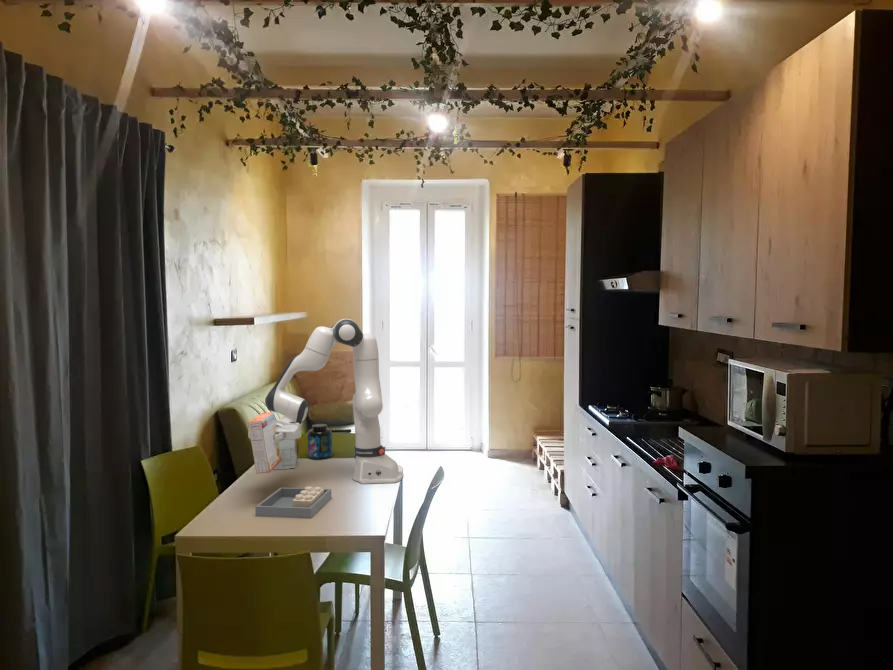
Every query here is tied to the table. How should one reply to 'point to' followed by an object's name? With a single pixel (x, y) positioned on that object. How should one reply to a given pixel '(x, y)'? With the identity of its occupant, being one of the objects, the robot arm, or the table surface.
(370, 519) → the table surface
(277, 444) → the cracker box
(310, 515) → the tote
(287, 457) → the supplement box
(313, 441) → the container
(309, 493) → the egg carton
